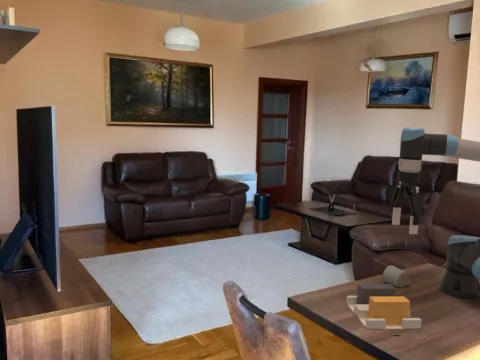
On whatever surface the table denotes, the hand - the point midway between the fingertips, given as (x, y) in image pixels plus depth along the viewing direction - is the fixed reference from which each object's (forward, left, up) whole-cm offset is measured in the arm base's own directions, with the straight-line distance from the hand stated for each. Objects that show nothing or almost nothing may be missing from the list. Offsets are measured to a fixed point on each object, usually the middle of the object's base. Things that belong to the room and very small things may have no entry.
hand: (404, 229), depth 159 cm
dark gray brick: (+11, +5, -28) cm, 30 cm away
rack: (+11, +11, -29) cm, 33 cm away
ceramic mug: (-9, -19, -29) cm, 36 cm away
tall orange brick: (+11, +16, -28) cm, 34 cm away
